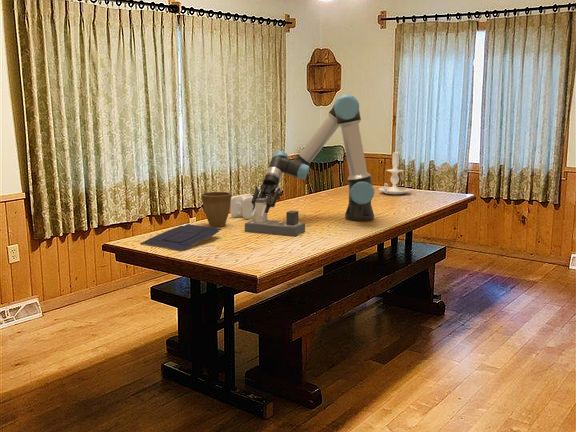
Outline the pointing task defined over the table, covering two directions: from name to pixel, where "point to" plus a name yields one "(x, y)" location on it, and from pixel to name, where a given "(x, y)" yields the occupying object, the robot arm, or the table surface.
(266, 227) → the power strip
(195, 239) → the dark blue folded cloth
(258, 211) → the plug
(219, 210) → the plant pot
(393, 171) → the candlestick
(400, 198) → the table surface
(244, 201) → the white lumpy block
